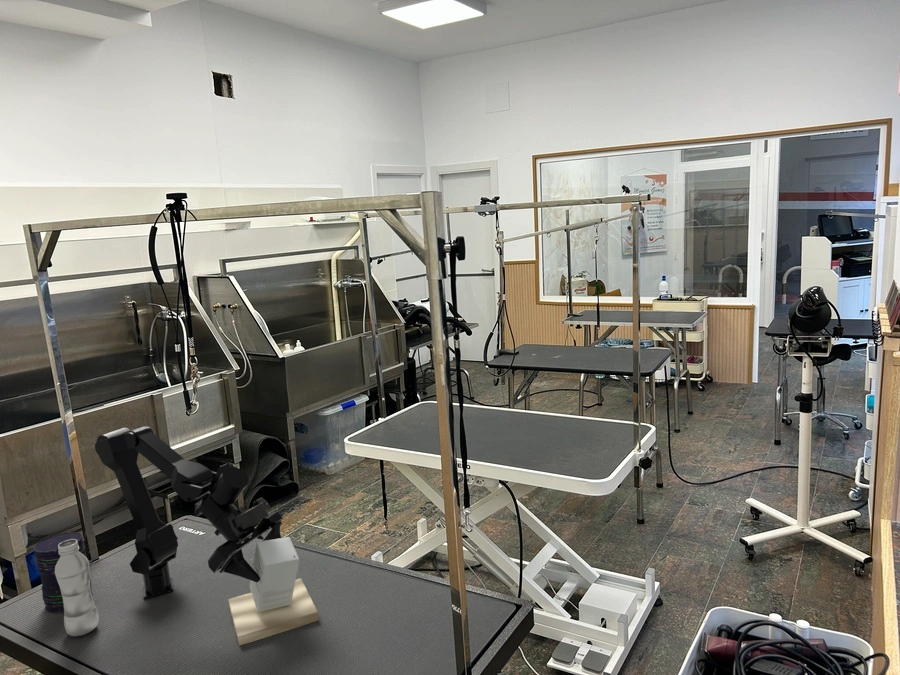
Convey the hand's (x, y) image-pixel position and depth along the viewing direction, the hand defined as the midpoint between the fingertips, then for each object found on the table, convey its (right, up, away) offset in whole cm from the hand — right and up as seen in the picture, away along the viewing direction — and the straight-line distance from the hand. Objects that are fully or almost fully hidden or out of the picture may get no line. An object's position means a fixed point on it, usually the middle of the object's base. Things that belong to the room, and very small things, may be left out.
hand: (273, 569), depth 138 cm
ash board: (-1, -10, +2) cm, 11 cm away
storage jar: (-51, -13, +14) cm, 55 cm away
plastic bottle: (-41, -14, +2) cm, 43 cm away
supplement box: (-2, -7, +2) cm, 7 cm away
